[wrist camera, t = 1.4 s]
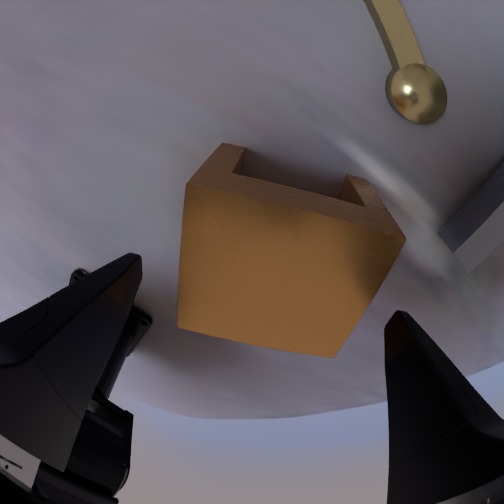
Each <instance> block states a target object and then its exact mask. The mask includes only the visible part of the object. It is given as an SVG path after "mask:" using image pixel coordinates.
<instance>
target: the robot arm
mask: <svg viewBox="0 0 504 504" xmlns="http://www.w3.org/2000/svg"><path fill="white" fill-rule="evenodd" d="M141 280H142V258H141V256H140V255H138V254H134V253H128V254H126V255H124V256H122V257H120V258H118V259H116V260H114V261H112V262H110V263H108V264H107V265H105V266H103V267H101V268H99V269H97V270H95V271H94V272H92V273H90V274H88V275H86V274H84V273H83V272H81V271H80V270H75V271H74V272H73V273H72V274H71V278H70V282H69V285H68V286H67V287H65V288H63V289H61V290H60V291H58V292H56V293H54V294H53V295H51V296H50V297H47V298H46V299H44V300H42V301H41V302H39V303H37V304H35V305H33V306H32V307H30V308H28V309H26V310H24V311H22V312H20V313H19V314H17V315H15V316H13V317H11V318H9V319H7V320H5V321H3V322H1V323H0V504H118V502H119V501H118V499H117V498H114V496H115V495H116V494H117V492H118V491H119V490H120V489H121V488H122V487H123V486H124V484H125V483H126V480H127V478H128V475H129V470H130V456H131V441H132V428H133V414H131V413H130V412H128V411H127V410H123V409H121V408H119V407H118V406H117V405H115V404H114V403H112V402H110V401H109V400H108V398H109V396H110V393H111V391H112V388H113V386H114V384H115V381H116V379H117V377H118V374H119V372H120V370H121V367H122V365H123V363H124V360H125V358H126V357H128V356H129V355H130V353H131V352H132V351H133V349H134V348H135V347H136V345H137V344H138V343H139V341H140V340H141V339H142V337H143V336H144V335H145V333H146V332H147V331H148V329H149V328H150V326H151V324H152V322H153V320H152V318H151V317H150V316H149V315H147V314H145V313H144V312H142V311H140V310H139V309H137V308H135V307H134V306H132V304H133V301H134V299H135V296H136V293H137V291H138V288H139V285H140V283H141ZM384 342H385V375H386V387H387V401H388V420H389V475H388V495H387V504H504V420H503V419H502V418H501V417H500V416H499V415H498V414H497V413H496V412H495V411H494V410H493V409H492V408H491V407H490V405H489V404H488V403H487V402H486V401H485V400H484V399H483V398H482V397H481V395H480V394H479V393H478V392H477V391H476V390H475V389H474V387H473V386H472V385H471V384H470V383H469V382H468V380H467V379H466V378H465V377H464V375H462V373H461V372H460V371H459V370H458V368H457V367H456V366H455V365H454V364H453V363H452V361H451V360H450V359H449V358H448V357H447V356H446V354H445V353H444V352H443V351H442V350H441V349H440V348H439V346H438V345H437V344H436V343H435V342H434V341H433V340H432V339H431V338H430V336H429V335H428V334H427V333H426V332H425V331H424V330H423V329H422V328H421V327H420V325H419V324H418V323H417V322H416V321H415V320H414V319H413V318H412V317H411V316H410V315H409V314H408V313H407V312H405V311H400V310H397V311H396V312H395V313H394V314H393V315H392V317H391V318H390V320H389V321H388V323H387V324H386V326H385V329H384Z"/></svg>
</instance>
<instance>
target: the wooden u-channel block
mask: <svg viewBox="0 0 504 504" xmlns="http://www.w3.org/2000/svg"><path fill="white" fill-rule="evenodd" d="M244 150H245V147H240V146H236V145H230V144H225V143H222V144H221V145H220V146H219V147H218V148H217V149H216V150H215V151H214V152H213V153H212V155H211V156H210V157H209V158H208V159H207V160H206V161H205V162H204V164H203V165H202V166H201V167H200V168H199V169H198V170H197V172H196V173H195V174H194V175H193V176H192V177H191V179H190V180H189V181H188V182H187V183H186V190H185V200H184V210H183V222H182V234H181V248H180V264H179V284H178V313H177V327H178V328H182V329H186V330H190V331H194V332H198V333H202V334H206V335H210V336H215V337H219V338H223V339H228V340H233V341H237V342H242V343H247V344H252V345H257V346H262V347H268V348H273V349H279V350H284V351H290V352H297V353H303V354H309V355H316V356H323V357H331V358H334V356H335V355H336V354H337V352H338V351H339V349H340V348H341V347H342V345H343V344H344V342H345V341H346V339H347V338H348V337H349V335H350V334H351V332H352V331H353V329H354V328H355V326H356V325H357V323H358V322H359V320H360V318H361V317H362V315H363V314H364V312H365V311H366V309H367V307H368V306H369V304H370V303H371V301H372V299H373V298H374V296H375V294H376V293H377V291H378V289H379V288H380V286H381V284H382V283H383V281H384V279H385V277H386V276H387V274H388V272H389V270H390V269H391V267H392V265H393V263H394V261H395V259H396V258H397V256H398V254H399V252H400V250H401V248H402V246H403V244H404V242H405V241H406V237H405V236H404V234H403V232H402V231H401V229H400V228H399V226H398V225H397V223H396V222H395V220H394V218H393V217H392V215H391V214H390V212H389V211H388V209H387V208H386V207H385V205H384V204H383V202H382V201H381V199H380V198H379V196H378V195H377V194H376V192H375V191H374V189H373V188H372V187H371V185H370V184H369V183H368V181H367V180H365V179H362V178H359V177H356V176H353V175H349V174H346V176H345V179H344V182H343V185H342V188H341V190H340V193H339V196H338V199H335V198H332V197H328V196H325V195H321V194H317V193H314V192H310V191H306V190H302V189H298V188H294V187H290V186H286V185H282V184H278V183H274V182H270V181H265V180H261V179H257V178H252V177H248V176H243V175H240V170H241V165H242V160H243V155H244Z"/></svg>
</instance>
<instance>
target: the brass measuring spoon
mask: <svg viewBox="0 0 504 504" xmlns="http://www.w3.org/2000/svg"><path fill="white" fill-rule="evenodd" d="M363 1H364V3H365V5H366V7H367V9H368V11H369V13H370V15H371V17H372V19H373V21H374V24H375V26H376V28H377V30H378V33H379V35H380V37H381V40H382V42H383V44H384V47H385V49H386V52H387V55H388V57H389V60H390V63H391V65H392V68H393V70H392V71H391V72H390V74H389V75H388V77H387V80H386V95H387V99H388V101H389V103H390V105H391V107H392V108H393V109H394V111H395V112H396V113H397V114H399V115H400V116H401V117H403V118H405V119H408V120H410V121H412V122H415V123H418V124H429V123H432V122H434V121H436V120H437V119H439V118H440V117H441V115H442V114H443V112H444V110H445V108H446V103H447V93H446V88H445V85H444V83H443V81H442V79H441V78H440V76H439V75H438V74H437V73H436V72H435V71H434V70H433V69H431V68H430V67H428V66H426V65H425V63H424V60H423V57H422V55H421V52H420V49H419V46H418V44H417V41H416V38H415V36H414V33H413V31H412V28H411V26H410V24H409V21H408V19H407V17H406V14H405V12H404V10H403V8H402V6H401V4H400V2H399V0H363Z"/></svg>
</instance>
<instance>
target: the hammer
mask: <svg viewBox="0 0 504 504" xmlns="http://www.w3.org/2000/svg"><path fill="white" fill-rule="evenodd" d="M438 234H439V235H440V236H441V238H442V239H443V240H444V242H445V243H446V244H447V246H448V247H449V249H450V250H451V251H452V253H453V254H454V256H455V257H456V258H457V260H458V261H459V263H460V264H461V266H462V267H463V269H464V270H465V272H466V273H467V275H469V274H470V273H471V272H472V271H473V270H474V269H475V268H476V267H477V266H478V265H480V264H481V263H482V262H483V261H484V260H485V259H486V258H487V257H488V256H489V255H490V254H491V253H492V252H493V251H494V250H495V249H496V248H497V247H498V246H499V245H500V244H501V243H502V242H503V241H504V162H503V163H502V164H501V165H500V167H499V168H498V169H497V170H496V171H495V173H494V174H493V175H492V176H491V177H490V178H489V179H488V180H487V182H486V183H485V184H484V185H483V186H482V187H481V188H480V189H479V190H478V191H477V193H476V194H475V195H474V196H473V197H472V198H471V199H470V200H469V201H468V202H467V203H466V204H465V205H464V206H463V207H462V208H461V209H460V210H459V211H458V212H457V213H456V214H455V215H454V216H453V217H452V218H451V219H450V220H449V221H448V222H447V223H446V224H445V225H444V226H443V227H442V228H441V229H440V230H439V231H438Z"/></svg>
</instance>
